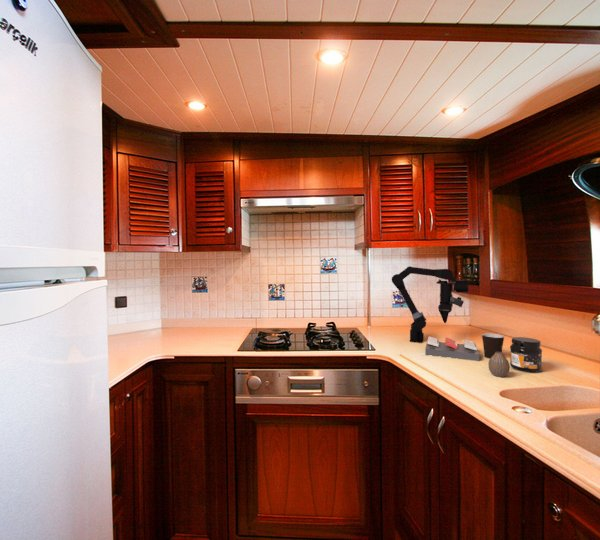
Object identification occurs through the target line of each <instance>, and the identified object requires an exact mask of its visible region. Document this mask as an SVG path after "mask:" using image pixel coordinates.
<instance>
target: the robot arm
mask: <svg viewBox="0 0 600 540" xmlns="http://www.w3.org/2000/svg"><path fill="white" fill-rule="evenodd" d="M453 273H454V272H453V271H452V270H451V269H448V268H438V269H437V268H436V269H433V268H432V269H431V268H425V267H424V268H423V267H414V266H407V267H406V268H405V269H404V270H402V271H401V272H399V273H395V274H394V275H392V276H391V283H392V284H393V285H394V286H395V288H396V289H397V290H398V291H399V292H400V294H401V296H402V299H403V300H404V302H405V304H406V306H407V308H408V310H409V311H410V313H411V316H412V318H413V321H412V323H410V330H409V342H411V343H419V344H420V343H421V344H422V343H423V342H424V341H425V340H424V337H425V336H424V335H425V333H424V332H423V329H425V327H426V326H427V322H426V321H427V318H426V317H425V316H424V313H423V311H421V312H420V311H419V310H418V308H417V307H416V305H415V303H414V301H413V299H412V297H411V295H410V294H409V293H410V292H408V290H407V288H406V284H405V282H404V280H405V279H406V278H407V277H408V276H409V275H412V274H414V275H420V276H429V277H433V278H434V277H435V278H438V281H436V282H435V283H436V284H437V285H440V287H439V305H438V307H437V308H438V312H439V314H440V316H441V319H442V322H443V323H444V324H446V323H447V321H448V317H449V314H450V313H451V312H452V311H453V305H455V306H458V307H459V308H462V307H463V304H464V302H465V301H464V300H463V299H462V297H460V296H458V297H454V296H453V291H454V292H455V293H456V294H459V293H460V294H461V293H462V294H468V292H469V283H468V279H462V280H461V279H460V280H459V279H456V278H455V277H454V274H453Z"/></svg>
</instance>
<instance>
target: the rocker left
mask: <svg viewBox="0 0 600 540" xmlns="http://www.w3.org/2000/svg"><path fill="white" fill-rule="evenodd" d="M439 342H440V338H436V337H433V336H428V338H427V341H426V344H430V345H434V346H437V347H438V345H439Z"/></svg>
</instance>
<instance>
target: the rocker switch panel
mask: <svg viewBox="0 0 600 540" xmlns="http://www.w3.org/2000/svg"><path fill="white" fill-rule="evenodd" d="M457 346H458V347H457V349H455V348H453V347H450V346H448V345H445V342H443V341H442V342H441V341H439V345H438V347H437V346H434V345H430V344H427V343H426V345H425V350H424V351H425V353H424V354H425V356H429V355H432V356H431V357H438V356H441V357H440V358H447V357H451V358H450V359H456V358H458V360H467V361H476V362H480V353H479V350H478V348H477V351H476V350H473V349H469V348H466V347H464V343H457Z"/></svg>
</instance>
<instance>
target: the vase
mask: <svg viewBox="0 0 600 540" xmlns="http://www.w3.org/2000/svg"><path fill="white" fill-rule="evenodd" d="M510 367H511V365H510V362H509V360H508V359H507V358H506V356H505V355H504V353H503V352H502V353H501V352H495V354H494V355H493V356H492V357H491V358H490V359H489V361H488V370H489V372H490V374H492V375H493V376H494V377H497V378H505V377H507V376H508V375H509V373H510V371H511V368H510Z"/></svg>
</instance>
